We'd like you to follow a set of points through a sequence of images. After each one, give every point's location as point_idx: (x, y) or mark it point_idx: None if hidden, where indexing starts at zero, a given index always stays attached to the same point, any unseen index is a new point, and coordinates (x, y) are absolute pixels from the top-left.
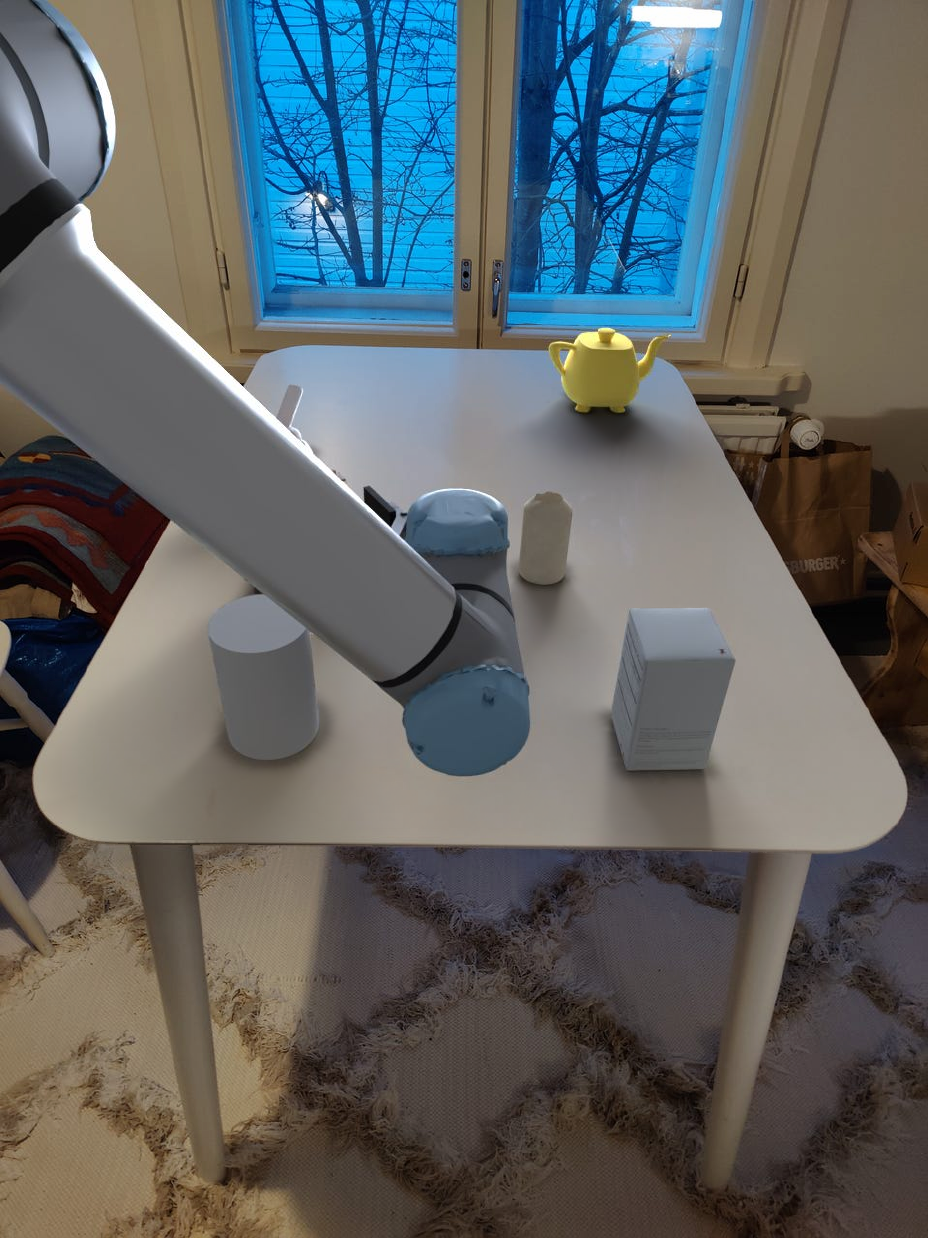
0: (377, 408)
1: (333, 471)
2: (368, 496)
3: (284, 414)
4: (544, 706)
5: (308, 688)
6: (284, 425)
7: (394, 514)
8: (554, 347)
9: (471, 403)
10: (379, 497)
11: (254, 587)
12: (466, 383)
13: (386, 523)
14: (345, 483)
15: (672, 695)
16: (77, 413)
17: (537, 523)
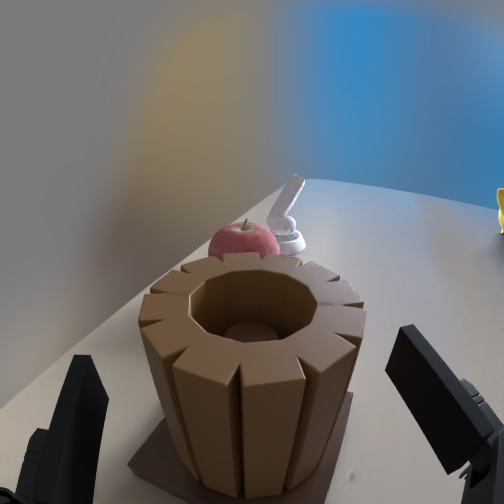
0: (366, 217)
1: (334, 276)
2: (410, 355)
3: (282, 201)
4: None
5: None
6: (280, 212)
7: (486, 438)
8: (502, 191)
9: (439, 225)
10: (445, 369)
11: (127, 464)
12: (429, 212)
13: (448, 447)
14: (364, 318)
15: None
16: None
17: None
